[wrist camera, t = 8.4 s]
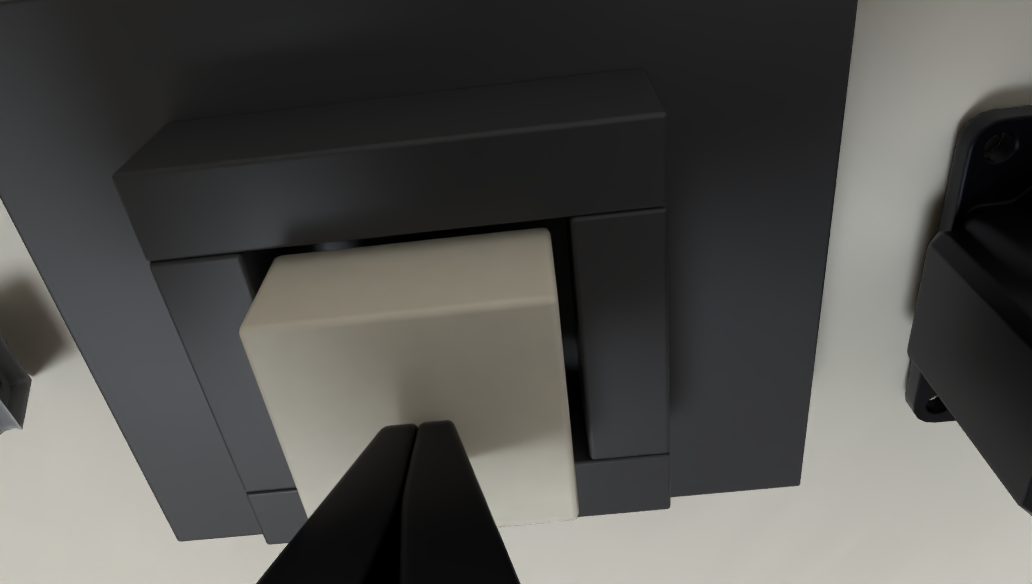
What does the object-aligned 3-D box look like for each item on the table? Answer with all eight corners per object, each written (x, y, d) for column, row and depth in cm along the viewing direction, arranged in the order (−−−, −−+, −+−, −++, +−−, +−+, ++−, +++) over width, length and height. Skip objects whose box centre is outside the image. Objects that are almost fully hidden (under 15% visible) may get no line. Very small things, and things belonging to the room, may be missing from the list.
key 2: (549, 223, 10) (557, 297, 8) (570, 432, 12) (580, 522, 10) (273, 253, 10) (234, 330, 9) (338, 454, 12) (315, 546, 10)
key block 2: (809, -123, 11) (946, -91, 8) (767, 409, 16) (836, 566, 13) (-1, -21, 12) (-209, 52, 8) (213, 461, 17) (140, 626, 14)
